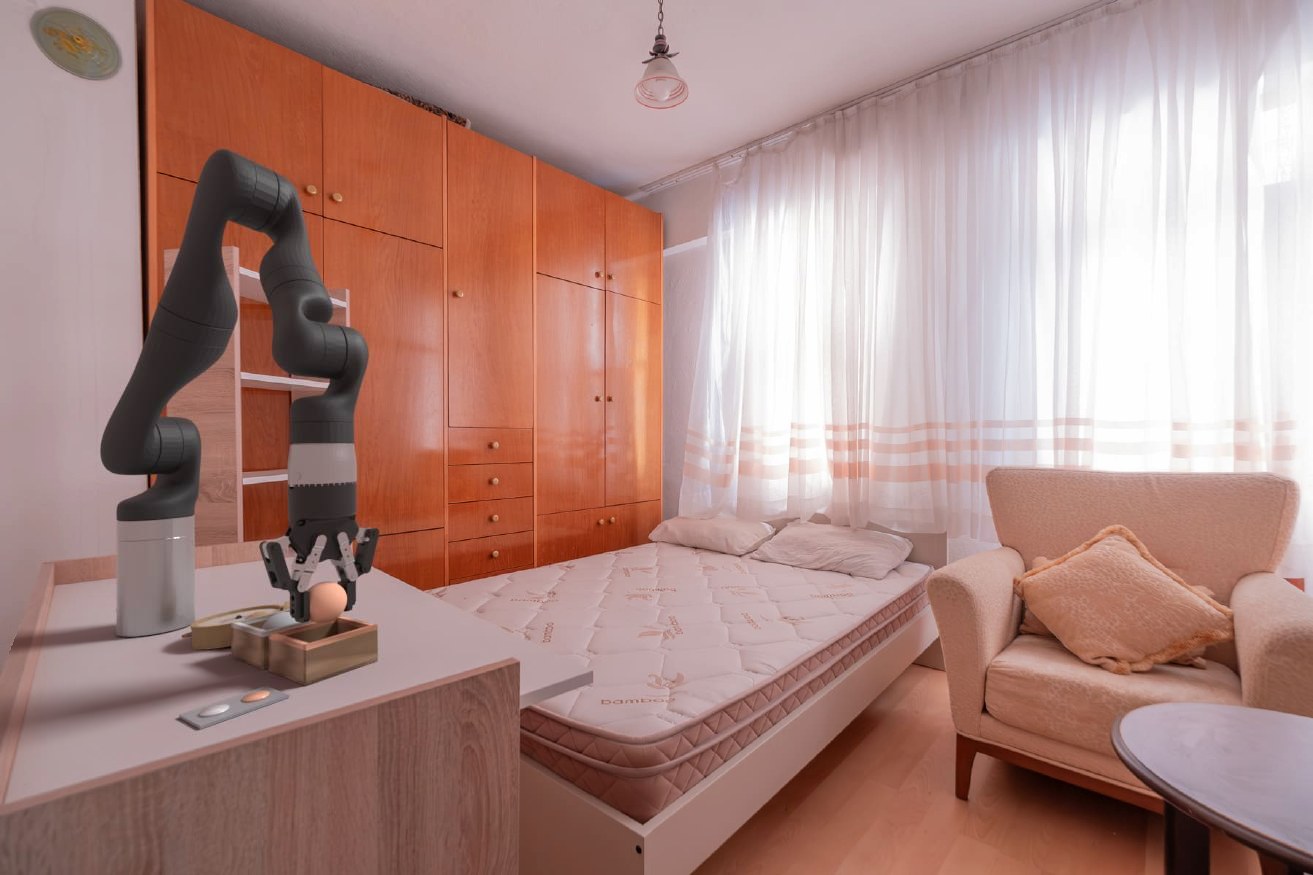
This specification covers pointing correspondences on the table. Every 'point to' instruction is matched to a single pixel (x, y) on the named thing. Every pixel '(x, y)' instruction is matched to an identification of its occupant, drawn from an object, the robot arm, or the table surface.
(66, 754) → the table surface
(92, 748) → the table surface
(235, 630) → the grey-band box
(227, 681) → the table surface
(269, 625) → the grey ball
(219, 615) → the alarm clock
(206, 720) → the card
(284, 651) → the terracotta-rimmed square box
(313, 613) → the terracotta ball
